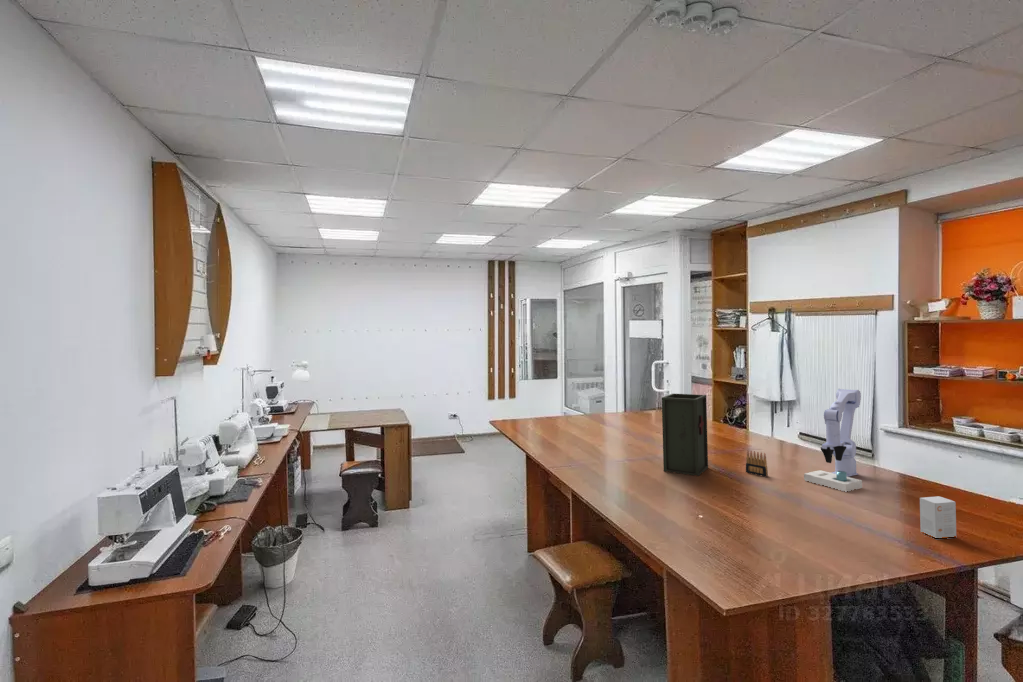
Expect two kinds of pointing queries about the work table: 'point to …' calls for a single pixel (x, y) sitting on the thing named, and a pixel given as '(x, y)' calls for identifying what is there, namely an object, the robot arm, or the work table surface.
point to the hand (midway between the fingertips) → (833, 461)
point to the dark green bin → (685, 433)
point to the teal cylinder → (841, 476)
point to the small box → (938, 516)
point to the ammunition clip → (756, 464)
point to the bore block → (832, 480)
